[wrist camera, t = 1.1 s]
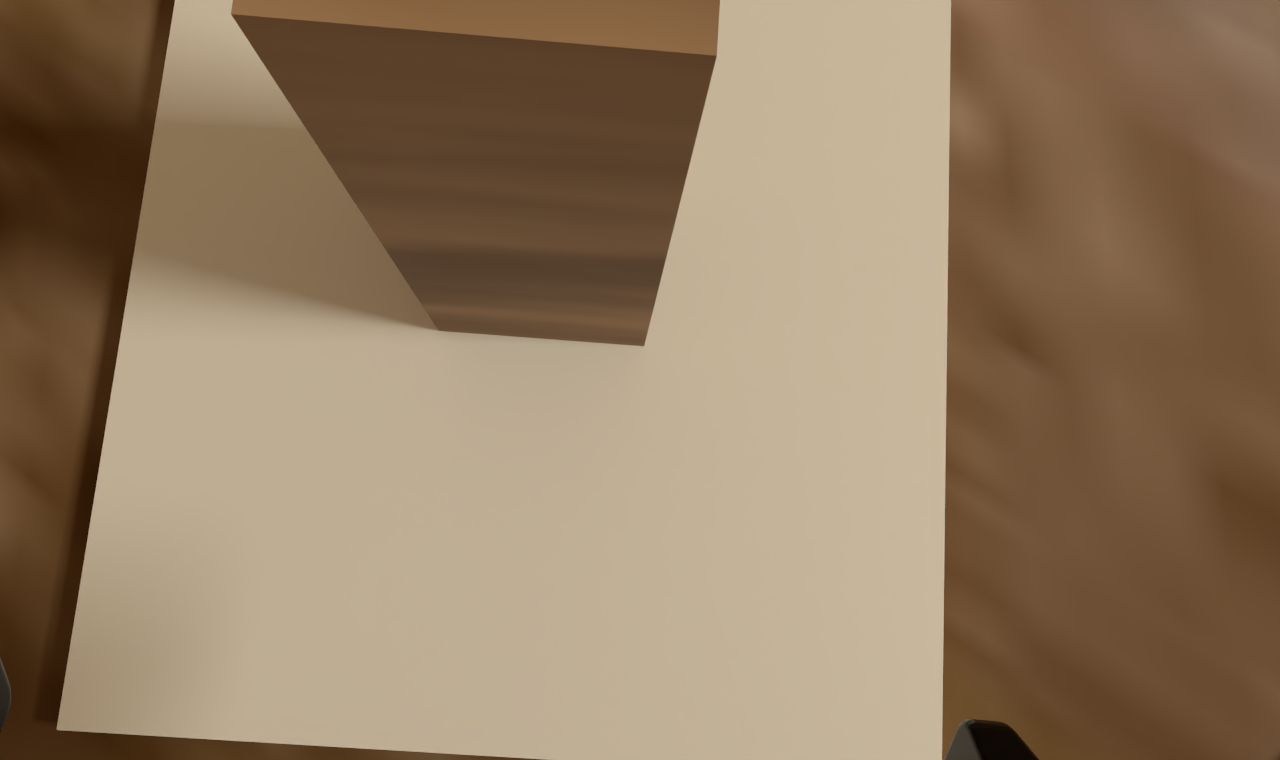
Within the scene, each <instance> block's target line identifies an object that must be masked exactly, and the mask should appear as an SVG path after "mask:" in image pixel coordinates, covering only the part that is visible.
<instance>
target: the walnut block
mask: <svg viewBox="0 0 1280 760" xmlns="http://www.w3.org/2000/svg"><path fill="white" fill-rule="evenodd" d="M719 9H720V0H233V3H232V10H231V15H232V17H233V18H234V20H235V21H236V23H237V24H238V26H239V27H240V29H241V30H242V32H243V33H244V35H245V36H246V38H247V39H248V41H249V42H250V44H251V46H252V47H253V49H254V50H255V52H256V53H257V55H258V56H259V58H260V59H261V61H262V62H263V64H264V65H265V67H266V68H267V70H268V71H269V73H270V74H271V76H272V77H273V79H274V81H275V82H276V84H277V85H278V87H279V88H280V90H281V91H282V93H283V94H284V96H285V97H286V99H287V100H288V102H289V103H290V105H291V106H292V108H293V109H294V111H295V113H296V114H297V116H298V117H299V119H300V120H301V122H302V123H303V125H304V126H305V128H306V129H307V131H308V132H309V134H310V135H311V137H312V138H313V140H314V141H315V143H316V145H317V146H318V148H319V149H320V151H321V152H322V154H323V155H324V157H325V158H326V160H327V161H328V163H329V164H330V166H331V167H332V169H333V170H334V172H335V173H336V175H337V177H338V178H339V180H340V181H341V183H342V184H343V186H344V187H345V189H346V190H347V192H348V193H349V195H350V196H351V198H352V199H353V201H354V202H355V204H356V205H357V207H358V209H359V210H360V212H361V213H362V215H363V216H364V218H365V219H366V221H367V222H368V224H369V225H370V227H371V228H372V230H373V231H374V233H375V234H376V236H377V237H378V239H379V241H380V242H381V244H382V245H383V247H384V248H385V250H386V251H387V253H388V254H389V256H390V257H391V259H392V260H393V262H394V263H395V265H396V266H397V268H398V269H399V271H400V273H401V274H402V276H403V277H404V279H405V280H406V282H407V283H408V285H409V286H410V288H411V289H412V291H413V292H414V294H415V295H416V297H417V298H418V300H419V301H420V303H421V305H422V306H423V308H424V309H425V311H426V312H427V314H428V315H429V317H430V318H431V320H432V321H433V323H434V324H435V326H436V327H437V329H438V330H439V331H448V332H461V333H474V334H487V335H501V336H514V337H527V338H541V339H554V340H567V341H581V342H594V343H607V344H621V345H634V346H644V345H645V341H646V337H647V333H648V329H649V325H650V321H651V317H652V313H653V309H654V305H655V301H656V297H657V293H658V289H659V285H660V281H661V277H662V273H663V269H664V265H665V261H666V257H667V253H668V249H669V245H670V241H671V237H672V233H673V229H674V225H675V221H676V217H677V213H678V209H679V205H680V201H681V197H682V193H683V189H684V185H685V181H686V177H687V173H688V169H689V165H690V161H691V157H692V153H693V149H694V145H695V141H696V137H697V133H698V129H699V125H700V121H701V117H702V113H703V109H704V105H705V101H706V97H707V93H708V89H709V85H710V81H711V77H712V73H713V69H714V65H715V61H716V57H717V44H718V27H719Z"/></svg>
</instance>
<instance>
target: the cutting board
mask: <svg viewBox="0 0 1280 760" xmlns="http://www.w3.org/2000/svg"><path fill="white" fill-rule="evenodd" d="M232 3H233V0H175V3H174V10H173V16H172V22H171V28H170V34H169V40H168V47H167V53H166V59H165V65H164V71H163V77H162V83H161V90H160V96H159V102H158V108H157V114H156V120H155V127H154V133H153V139H152V145H151V151H150V157H149V163H148V170H147V176H146V182H145V188H144V194H143V200H142V207H141V213H140V219H139V225H138V231H137V237H136V243H135V250H134V256H133V262H132V268H131V274H130V280H129V286H128V293H127V299H126V305H125V311H124V317H123V323H122V330H121V336H120V342H119V348H118V354H117V360H116V366H115V373H114V379H113V385H112V391H111V397H110V403H109V410H108V416H107V422H106V428H105V434H104V440H103V446H102V453H101V459H100V465H99V471H98V477H97V483H96V490H95V496H94V502H93V508H92V514H91V520H90V526H89V533H88V539H87V545H86V551H85V557H84V563H83V569H82V576H81V582H80V588H79V594H78V600H77V606H76V613H75V619H74V625H73V631H72V637H71V643H70V649H69V656H68V662H67V668H66V674H65V680H64V686H63V693H62V699H61V705H60V711H59V717H58V723H57V729H56V730H64V731H81V732H98V733H114V734H131V735H147V736H164V737H181V738H197V739H214V740H231V741H247V742H264V743H280V744H297V745H314V746H330V747H347V748H363V749H380V750H397V751H413V752H430V753H447V754H463V755H480V756H496V757H513V758H530V759H546V760H942V705H943V621H944V537H945V453H946V370H947V286H948V202H949V118H950V34H951V0H720V9H719V27H718V44H717V57H716V61H715V65H714V69H713V73H712V77H711V81H710V85H709V89H708V93H707V97H706V101H705V105H704V109H703V113H702V117H701V121H700V125H699V129H698V133H697V137H696V141H695V145H694V149H693V153H692V157H691V161H690V165H689V169H688V173H687V177H686V181H685V185H684V189H683V193H682V197H681V201H680V205H679V209H678V213H677V217H676V221H675V225H674V229H673V233H672V237H671V241H670V245H669V249H668V253H667V257H666V261H665V265H664V269H663V273H662V277H661V281H660V285H659V289H658V293H657V297H656V301H655V305H654V309H653V313H652V317H651V321H650V325H649V329H648V333H647V337H646V341H645V345H644V346H634V345H621V344H607V343H594V342H581V341H567V340H554V339H541V338H527V337H514V336H501V335H487V334H474V333H461V332H448V331H439V330H438V329H437V327H436V326H435V324H434V323H433V321H432V320H431V318H430V317H429V315H428V314H427V312H426V311H425V309H424V308H423V306H422V305H421V303H420V301H419V300H418V298H417V297H416V295H415V294H414V292H413V291H412V289H411V288H410V286H409V285H408V283H407V282H406V280H405V279H404V277H403V276H402V274H401V273H400V271H399V269H398V268H397V266H396V265H395V263H394V262H393V260H392V259H391V257H390V256H389V254H388V253H387V251H386V250H385V248H384V247H383V245H382V244H381V242H380V241H379V239H378V237H377V236H376V234H375V233H374V231H373V230H372V228H371V227H370V225H369V224H368V222H367V221H366V219H365V218H364V216H363V215H362V213H361V212H360V210H359V209H358V207H357V205H356V204H355V202H354V201H353V199H352V198H351V196H350V195H349V193H348V192H347V190H346V189H345V187H344V186H343V184H342V183H341V181H340V180H339V178H338V177H337V175H336V173H335V172H334V170H333V169H332V167H331V166H330V164H329V163H328V161H327V160H326V158H325V157H324V155H323V154H322V152H321V151H320V149H319V148H318V146H317V145H316V143H315V141H314V140H313V138H312V137H311V135H310V134H309V132H308V131H307V129H306V128H305V126H304V125H303V123H302V122H301V120H300V119H299V117H298V116H297V114H296V113H295V111H294V109H293V108H292V106H291V105H290V103H289V102H288V100H287V99H286V97H285V96H284V94H283V93H282V91H281V90H280V88H279V87H278V85H277V84H276V82H275V81H274V79H273V77H272V76H271V74H270V73H269V71H268V70H267V68H266V67H265V65H264V64H263V62H262V61H261V59H260V58H259V56H258V55H257V53H256V52H255V50H254V49H253V47H252V46H251V44H250V42H249V41H248V39H247V38H246V36H245V35H244V33H243V32H242V30H241V29H240V27H239V26H238V24H237V23H236V21H235V20H234V18H233V17H232V15H231V10H232Z"/></svg>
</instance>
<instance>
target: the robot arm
mask: <svg viewBox="0 0 1280 760" xmlns="http://www.w3.org/2000/svg"><path fill="white" fill-rule="evenodd" d="M10 704H11V687H10V684H9V681H8V678H7V675H6V672H5V670H4V667H3V664H2V661H1V659H0V731H1V729H2V727H3V724H4V722H5V720H6V718H7V715H8V712H9V708H10ZM944 760H1039V759H1038V758H1037V757H1036V755H1035V754H1034V753H1033V752H1032V751H1031V750H1030V748H1029V747H1028V746H1027V745H1026V744H1025V742H1024V741H1023V740H1022V739H1021V738H1020V737H1019V735H1018V734H1017V733H1016V732H1015V731H1014V730H1013V729H1012V728H1011V727H1010V726H1008V725H1007V724H1005V723H1002V722H998V721H987V720H976V719H966V720H964V721H963V722H962V723H960V725H959V727H958V728H957V730H956V733H955V735H954V737H953V740H952V742H951V744H950V747H949V749H948V752H947V754H946V756H945V759H944Z"/></svg>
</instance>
